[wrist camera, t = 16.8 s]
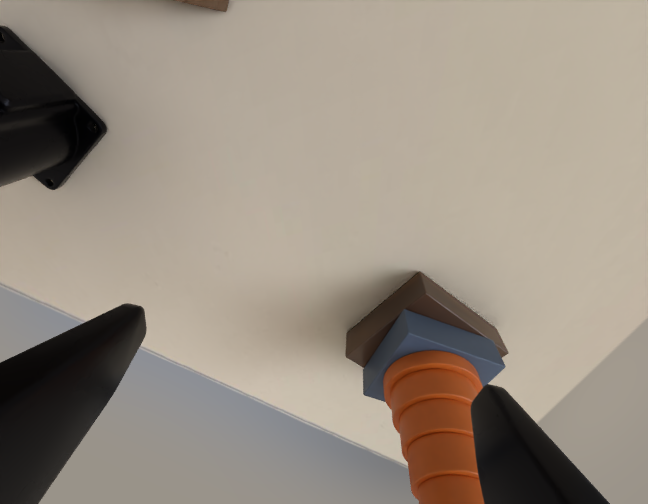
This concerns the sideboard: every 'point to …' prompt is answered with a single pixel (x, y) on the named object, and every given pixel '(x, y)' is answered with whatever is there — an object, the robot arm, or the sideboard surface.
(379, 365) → the top block
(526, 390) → the sideboard surface
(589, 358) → the sideboard surface
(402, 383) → the cone
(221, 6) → the wooden block set
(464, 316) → the base block
